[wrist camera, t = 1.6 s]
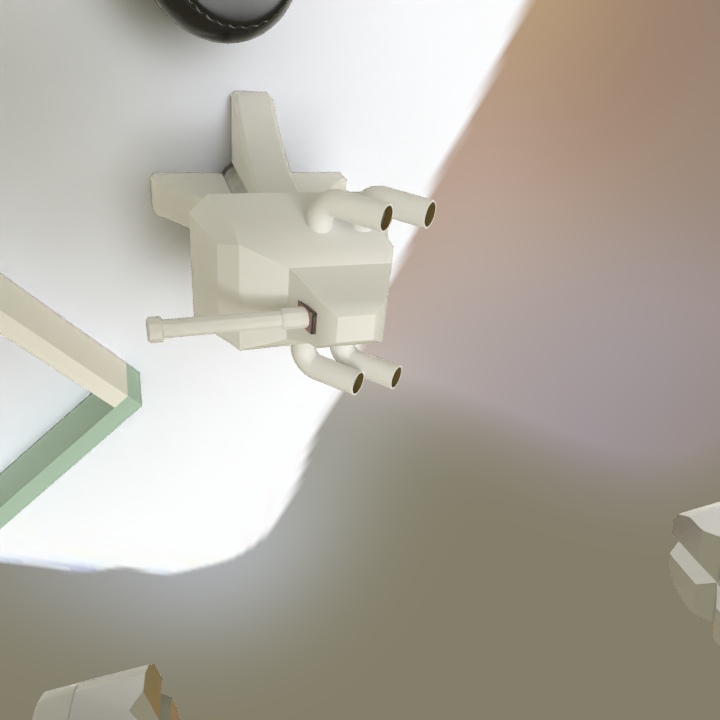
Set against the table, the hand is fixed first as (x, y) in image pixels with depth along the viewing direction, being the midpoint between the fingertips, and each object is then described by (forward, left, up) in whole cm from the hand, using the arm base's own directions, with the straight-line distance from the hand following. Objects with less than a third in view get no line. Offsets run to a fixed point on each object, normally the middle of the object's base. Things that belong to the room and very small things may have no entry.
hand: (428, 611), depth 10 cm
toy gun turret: (+6, -1, -35) cm, 36 cm away
